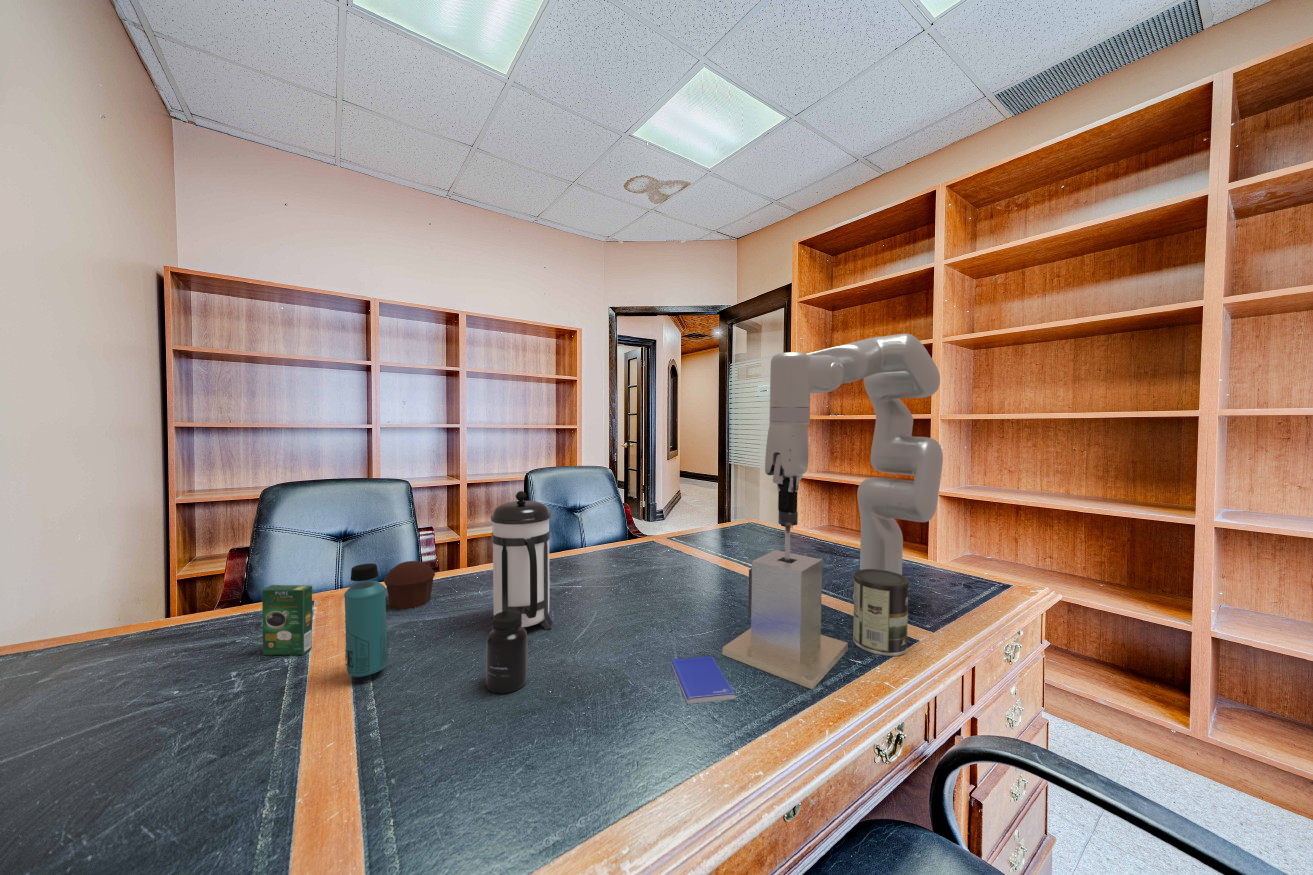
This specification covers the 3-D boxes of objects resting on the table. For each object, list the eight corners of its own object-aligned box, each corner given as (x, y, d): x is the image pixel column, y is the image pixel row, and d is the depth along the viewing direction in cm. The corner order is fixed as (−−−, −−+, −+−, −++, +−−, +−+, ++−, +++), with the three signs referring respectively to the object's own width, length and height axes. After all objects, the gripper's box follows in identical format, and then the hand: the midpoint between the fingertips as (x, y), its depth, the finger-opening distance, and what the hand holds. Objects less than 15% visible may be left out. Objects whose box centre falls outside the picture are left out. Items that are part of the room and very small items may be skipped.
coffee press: (467, 634, 100) (466, 494, 98) (516, 606, 114) (515, 484, 113) (535, 650, 93) (534, 500, 92) (577, 618, 108) (577, 489, 107)
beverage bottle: (396, 669, 86) (395, 561, 85) (363, 689, 79) (361, 573, 79) (370, 663, 88) (368, 558, 87) (335, 682, 81) (333, 568, 81)
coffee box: (315, 648, 93) (313, 583, 93) (304, 655, 91) (303, 588, 90) (273, 648, 93) (271, 583, 93) (261, 656, 90) (259, 589, 90)
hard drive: (735, 692, 77) (712, 655, 89) (687, 697, 76) (671, 659, 88) (735, 701, 77) (712, 663, 89) (687, 706, 76) (671, 667, 88)
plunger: (778, 585, 97) (779, 506, 96) (810, 593, 92) (811, 511, 92) (762, 595, 92) (764, 511, 91) (795, 604, 87) (797, 516, 87)
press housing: (765, 624, 105) (766, 542, 105) (847, 650, 94) (849, 558, 93) (722, 654, 92) (723, 561, 91) (812, 689, 80) (814, 582, 79)
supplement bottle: (489, 699, 77) (488, 627, 76) (483, 678, 83) (483, 612, 82) (531, 688, 80) (531, 619, 79) (523, 669, 86) (522, 605, 85)
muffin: (375, 604, 116) (374, 564, 115) (419, 590, 125) (419, 553, 124) (399, 616, 109) (399, 573, 108) (444, 600, 118) (444, 561, 118)
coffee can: (898, 635, 100) (900, 570, 100) (914, 659, 90) (916, 587, 90) (847, 630, 102) (849, 566, 102) (858, 653, 92) (859, 583, 92)
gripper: (787, 417, 99) (786, 504, 99) (753, 416, 87) (751, 514, 88) (823, 418, 94) (821, 508, 95) (791, 417, 83) (789, 520, 83)
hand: (787, 511), depth 91 cm, fingers closed
